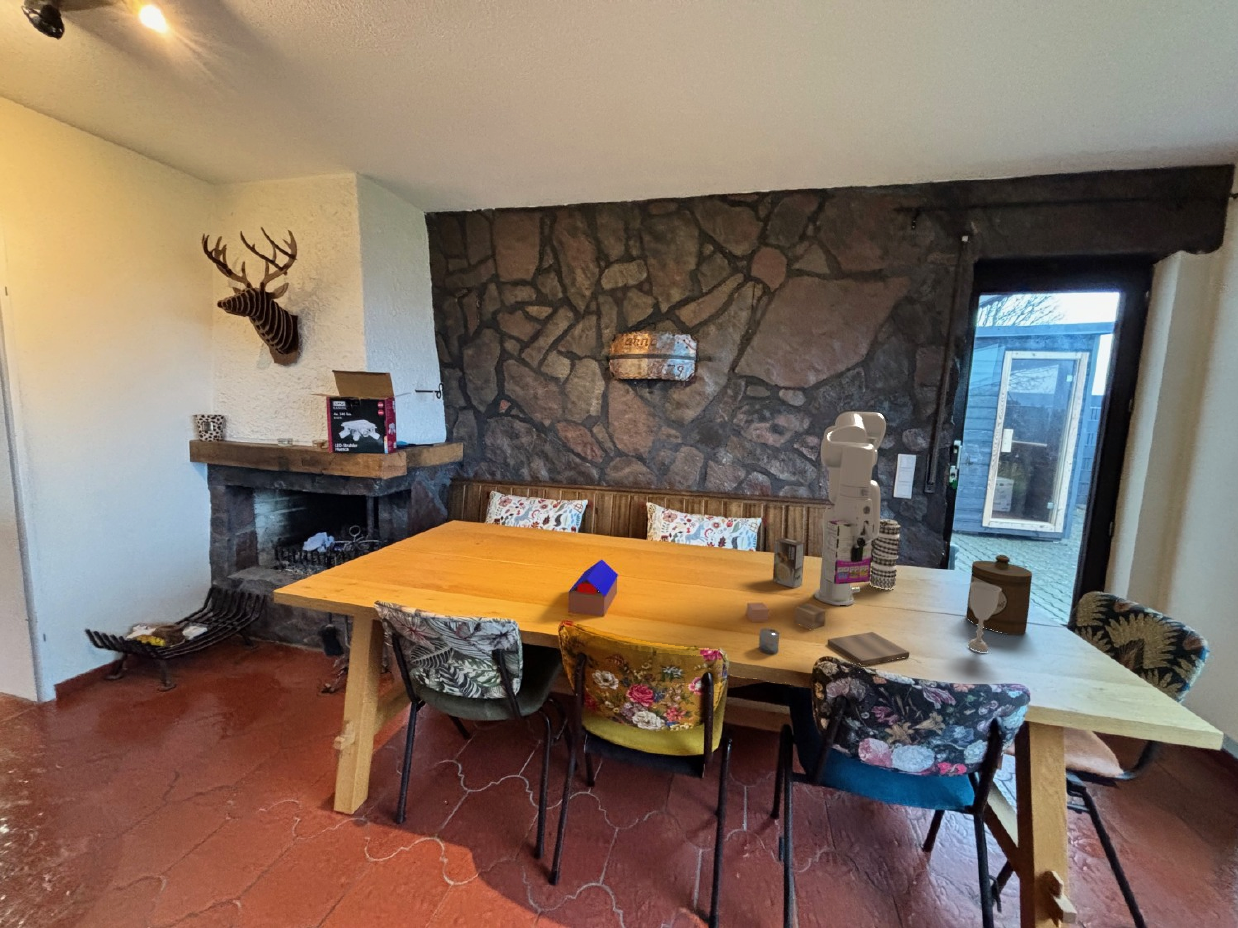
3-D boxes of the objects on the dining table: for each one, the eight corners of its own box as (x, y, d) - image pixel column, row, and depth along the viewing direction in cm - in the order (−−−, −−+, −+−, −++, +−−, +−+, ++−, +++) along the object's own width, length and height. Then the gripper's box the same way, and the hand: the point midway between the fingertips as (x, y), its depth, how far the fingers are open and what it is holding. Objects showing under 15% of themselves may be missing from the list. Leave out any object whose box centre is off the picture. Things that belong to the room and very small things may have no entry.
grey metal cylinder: (770, 644, 135) (771, 627, 135) (782, 653, 131) (783, 635, 130) (754, 646, 134) (756, 629, 133) (766, 655, 129) (767, 637, 129)
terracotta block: (761, 614, 155) (762, 602, 154) (768, 621, 150) (769, 609, 149) (746, 615, 154) (747, 602, 154) (752, 622, 149) (753, 609, 149)
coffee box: (803, 584, 182) (806, 542, 180) (794, 588, 178) (797, 545, 176) (780, 577, 189) (783, 537, 187) (771, 581, 184) (774, 539, 182)
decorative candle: (871, 589, 179) (878, 522, 176) (865, 580, 188) (871, 516, 185) (899, 592, 177) (906, 524, 174) (891, 583, 186) (898, 518, 183)
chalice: (981, 643, 140) (988, 582, 137) (1000, 655, 133) (1008, 591, 131) (955, 642, 139) (963, 581, 137) (973, 655, 133) (981, 591, 130)
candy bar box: (857, 575, 137) (862, 518, 135) (870, 582, 133) (875, 523, 130) (822, 578, 135) (827, 519, 133) (834, 584, 130) (839, 524, 128)
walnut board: (872, 636, 142) (872, 631, 141) (908, 657, 130) (909, 651, 130) (827, 644, 136) (827, 639, 136) (861, 666, 125) (862, 660, 125)
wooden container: (954, 614, 159) (962, 548, 157) (997, 613, 160) (1006, 548, 158) (992, 635, 145) (1001, 563, 142) (1039, 635, 146) (1049, 563, 143)
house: (617, 593, 169) (618, 560, 168) (604, 617, 150) (605, 580, 148) (584, 589, 172) (584, 557, 170) (567, 613, 152) (567, 577, 151)
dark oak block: (807, 618, 153) (808, 603, 152) (824, 626, 148) (825, 610, 147) (794, 622, 150) (795, 607, 149) (811, 630, 145) (813, 614, 144)
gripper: (891, 497, 123) (884, 567, 126) (842, 485, 140) (837, 547, 142) (867, 498, 121) (861, 569, 124) (820, 486, 137) (815, 549, 140)
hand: (848, 557), depth 133 cm, fingers closed on candy bar box, 5 cm apart
